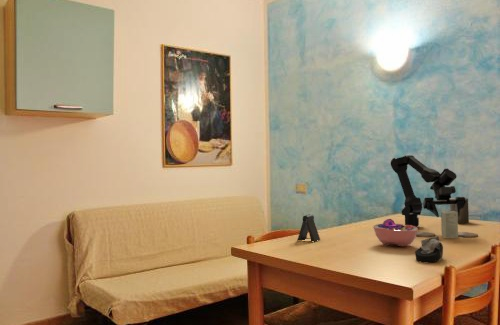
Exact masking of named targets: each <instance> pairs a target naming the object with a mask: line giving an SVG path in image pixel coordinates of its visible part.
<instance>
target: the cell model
mask: <svg viewBox="0 0 500 325" xmlns="http://www.w3.org/2000/svg"><path fill="white" fill-rule="evenodd" d="M372 228H373V230H374V233H375V234H374V235H375V237H376V238H377V239H378V241H379V242H380V243H381V244H383V245H386V246H392V247H393V246H394V247H395V246H396V247H406V246H410V245H411V244H412V243H414V241H415V240H416V237H417V236H416V233H417V232H419V228H418V227H415V226H412V225H405V223H403V224H402V223H395V221H394V220H393V219H392V218H386V219H385V220H384V221H383V223H380V224H379V223H378V224H375V225H373V226H372Z"/></svg>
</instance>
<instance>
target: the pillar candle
mask: <svg viewBox="0 0 500 325" xmlns="http://www.w3.org/2000/svg"><path fill="white" fill-rule="evenodd" d="M455 198H456V197H451V198H450V200H455ZM465 199H466V203H465V205H464V208H462V209H460V215H459V217H458V225H459V224H462V225H463V224H468V223H470V219H469V218H470V216H469V213H470V212H469V198H467V197H465ZM449 211H455V207H454V205H449ZM455 212H456V211H455Z"/></svg>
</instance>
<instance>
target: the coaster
mask: <svg viewBox="0 0 500 325" xmlns="http://www.w3.org/2000/svg"><path fill="white" fill-rule="evenodd" d="M416 237H417V238H433V237H436V234H435V233H434V232H429V231H417V233H416Z"/></svg>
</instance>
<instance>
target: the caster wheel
mask: <svg viewBox="0 0 500 325" xmlns="http://www.w3.org/2000/svg"><path fill="white" fill-rule="evenodd" d="M420 242H421V246H419V247H418V248H417V249H416V250H415V251H414V254H415V259H416V261H418V262H419V261H421V262H420V263H424V262H428V263H427V264H430V263H431V264H432V263H436V262H437V261H439V262H440V261H441V260H442V259H443V255H444V246H443V243H442V242H441V241H440V237H439V236H433V237H428V238H425V239H421V241H420Z"/></svg>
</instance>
